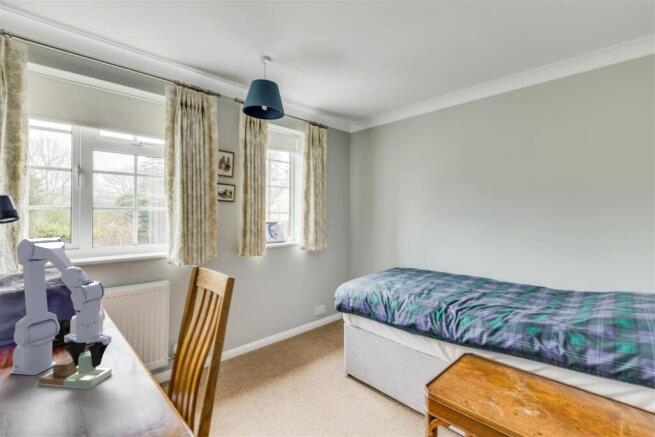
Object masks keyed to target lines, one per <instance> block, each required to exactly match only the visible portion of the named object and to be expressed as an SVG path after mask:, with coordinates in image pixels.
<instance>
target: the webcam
mask: <svg viewBox="0 0 655 437" xmlns="http://www.w3.org/2000/svg"><path fill="white" fill-rule="evenodd" d="M57 321H58V323H59V325H60V329H59V332H58V334H57V335H56V336H55V339H53V340H52V349H53V348H54V349H55V348H60V347H64V346H66V345H68V344H69V343H70V341H69V342H64V336H66V335H68V334H70V322H71V319H69V318H59V319H57Z"/></svg>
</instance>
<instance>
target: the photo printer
mask: <svg viewBox="0 0 655 437" xmlns="http://www.w3.org/2000/svg"><path fill="white" fill-rule="evenodd" d="M103 327H104V317H103V314H102V312H101V311H99V331H101V334H104V333H103V332H104V328H103ZM69 334H76V314H75V315H73V316H72V317H71V319H70V333H69ZM89 344H90V343H86V345H89Z"/></svg>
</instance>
